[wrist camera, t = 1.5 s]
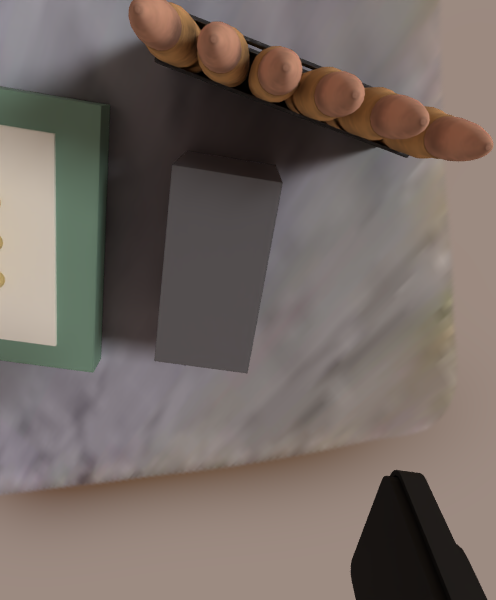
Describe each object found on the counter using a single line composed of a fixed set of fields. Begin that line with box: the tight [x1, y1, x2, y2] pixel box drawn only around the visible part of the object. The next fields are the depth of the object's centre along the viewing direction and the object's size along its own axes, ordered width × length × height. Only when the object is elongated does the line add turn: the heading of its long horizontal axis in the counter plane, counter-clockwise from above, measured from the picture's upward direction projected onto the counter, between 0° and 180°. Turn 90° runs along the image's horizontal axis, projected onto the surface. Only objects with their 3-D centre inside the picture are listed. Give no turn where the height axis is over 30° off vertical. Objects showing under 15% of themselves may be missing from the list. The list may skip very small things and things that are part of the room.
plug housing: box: [155, 151, 283, 373], centre depth 23 cm, size 9×4×5 cm, turn 171°
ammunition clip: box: [129, 0, 493, 161], centre depth 16 cm, size 11×2×12 cm, turn 71°
